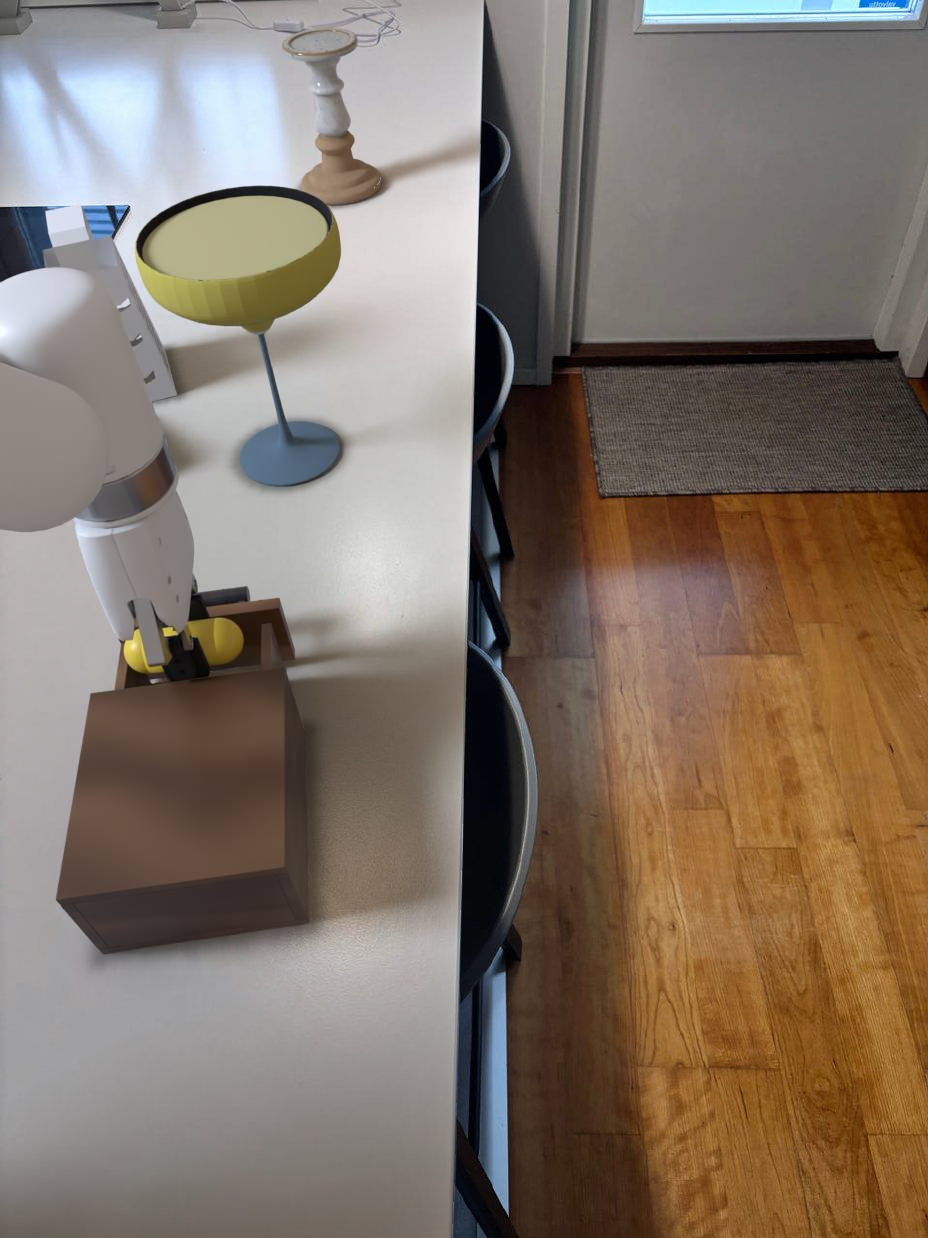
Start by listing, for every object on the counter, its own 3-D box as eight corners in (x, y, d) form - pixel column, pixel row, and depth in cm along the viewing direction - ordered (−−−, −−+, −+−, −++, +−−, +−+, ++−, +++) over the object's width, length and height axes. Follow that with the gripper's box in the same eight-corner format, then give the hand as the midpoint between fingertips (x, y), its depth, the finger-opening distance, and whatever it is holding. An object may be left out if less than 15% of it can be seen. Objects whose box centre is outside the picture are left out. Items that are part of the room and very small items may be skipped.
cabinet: (127, 756, 77) (90, 692, 71) (305, 731, 78) (284, 666, 72) (101, 954, 66) (55, 900, 60) (309, 923, 67) (285, 867, 61)
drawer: (145, 636, 85) (120, 583, 80) (294, 616, 85) (279, 563, 80) (121, 829, 72) (89, 781, 67) (297, 804, 73) (279, 754, 67)
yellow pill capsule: (134, 677, 74) (119, 675, 70) (130, 632, 74) (114, 627, 71) (250, 662, 74) (241, 659, 71) (245, 617, 75) (235, 612, 71)
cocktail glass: (366, 393, 109) (330, 173, 90) (381, 495, 97) (343, 265, 78) (208, 416, 108) (139, 197, 89) (203, 521, 96) (123, 295, 77)
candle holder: (332, 213, 139) (308, 62, 124) (286, 188, 146) (257, 42, 131) (398, 185, 144) (382, 37, 129) (350, 162, 151) (329, 18, 136)
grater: (164, 349, 118) (110, 187, 103) (177, 395, 111) (121, 229, 96) (78, 369, 116) (11, 208, 101) (86, 417, 109) (14, 252, 94)
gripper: (71, 400, 65) (153, 584, 79) (29, 571, 54) (132, 750, 68) (181, 387, 65) (243, 572, 79) (161, 554, 54) (237, 736, 68)
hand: (191, 653), depth 73 cm, fingers closed on yellow pill capsule, 3 cm apart
